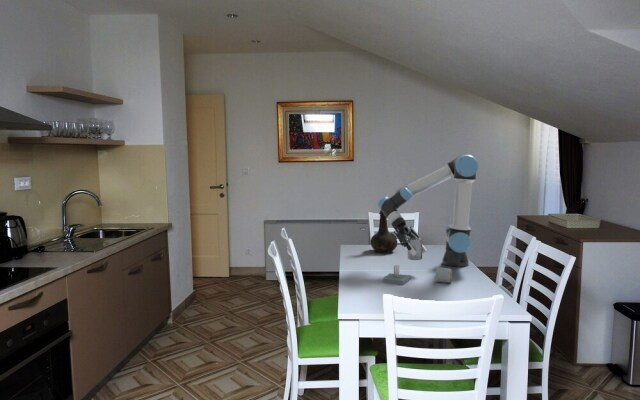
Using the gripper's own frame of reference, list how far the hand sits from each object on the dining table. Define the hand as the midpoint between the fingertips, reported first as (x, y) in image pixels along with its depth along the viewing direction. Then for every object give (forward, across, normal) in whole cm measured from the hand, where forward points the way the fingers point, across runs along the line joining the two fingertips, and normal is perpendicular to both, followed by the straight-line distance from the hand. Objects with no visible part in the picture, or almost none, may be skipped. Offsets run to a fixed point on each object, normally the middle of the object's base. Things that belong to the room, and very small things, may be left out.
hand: (419, 253), depth 245 cm
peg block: (+8, +18, -9) cm, 22 cm away
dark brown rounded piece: (-29, -29, -46) cm, 62 cm away
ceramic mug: (+20, +1, +2) cm, 20 cm away
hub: (0, 0, -5) cm, 5 cm away
